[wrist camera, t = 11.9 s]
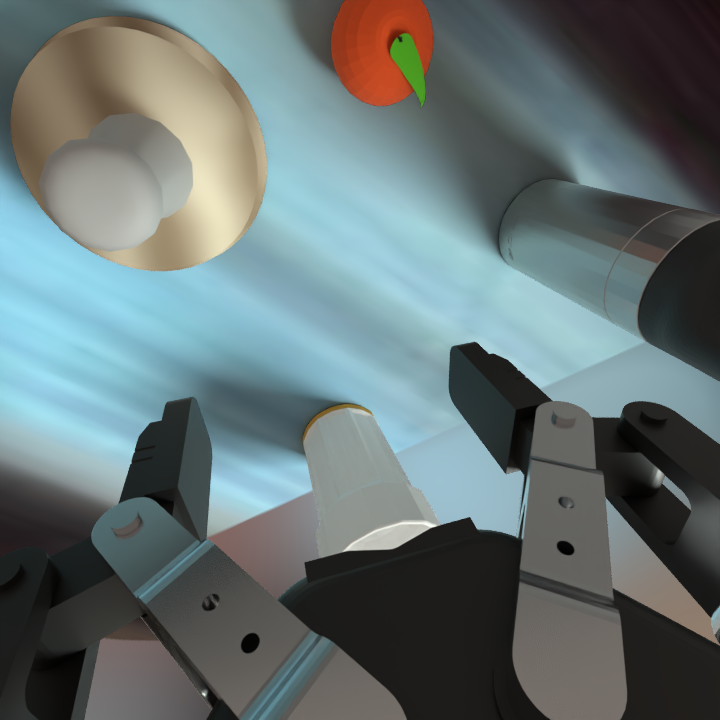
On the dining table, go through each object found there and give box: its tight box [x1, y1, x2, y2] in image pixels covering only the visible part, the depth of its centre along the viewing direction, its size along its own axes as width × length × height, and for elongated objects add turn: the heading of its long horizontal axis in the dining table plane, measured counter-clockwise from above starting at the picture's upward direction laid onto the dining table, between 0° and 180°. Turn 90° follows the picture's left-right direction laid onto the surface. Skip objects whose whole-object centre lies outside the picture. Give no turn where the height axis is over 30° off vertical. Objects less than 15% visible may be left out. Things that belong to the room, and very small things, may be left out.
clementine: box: [331, 0, 434, 108], centre depth 29 cm, size 8×7×7 cm
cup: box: [302, 404, 441, 558], centre depth 43 cm, size 11×11×17 cm
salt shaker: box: [39, 113, 193, 252], centre depth 22 cm, size 6×6×13 cm
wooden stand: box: [10, 16, 267, 271], centre depth 29 cm, size 16×16×5 cm
